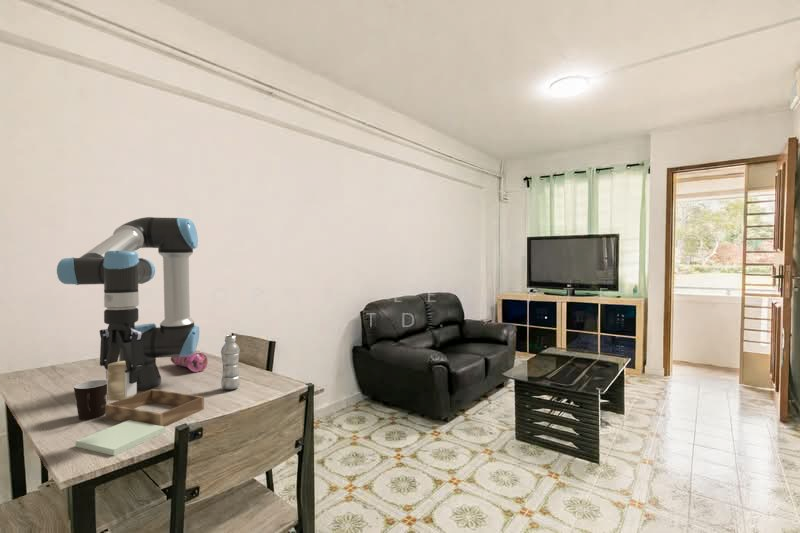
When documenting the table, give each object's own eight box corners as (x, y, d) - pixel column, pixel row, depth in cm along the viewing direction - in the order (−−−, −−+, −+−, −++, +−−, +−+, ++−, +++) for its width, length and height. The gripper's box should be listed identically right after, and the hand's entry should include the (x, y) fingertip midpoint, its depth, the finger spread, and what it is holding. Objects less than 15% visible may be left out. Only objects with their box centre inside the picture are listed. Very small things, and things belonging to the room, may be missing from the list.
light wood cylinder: (102, 399, 102) (102, 365, 102) (124, 391, 108) (124, 359, 108) (118, 401, 100) (118, 367, 100) (140, 394, 106) (140, 361, 106)
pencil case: (168, 366, 176) (168, 347, 176) (189, 362, 184) (189, 343, 183) (188, 375, 163) (188, 354, 163) (210, 370, 170) (210, 350, 170)
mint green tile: (75, 446, 100) (75, 440, 100) (129, 425, 113) (129, 419, 113) (114, 455, 95) (114, 449, 95) (164, 432, 109) (164, 426, 109)
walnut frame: (105, 418, 118) (105, 405, 118) (152, 400, 133) (152, 389, 133) (160, 428, 111) (160, 414, 111) (203, 409, 126) (203, 396, 126)
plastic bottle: (244, 387, 147) (243, 335, 147) (229, 392, 141) (229, 338, 141) (231, 385, 150) (231, 333, 150) (216, 390, 144) (216, 336, 143)
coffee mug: (87, 411, 124) (87, 380, 123) (115, 410, 124) (115, 379, 124) (58, 426, 112) (58, 392, 112) (90, 425, 113) (89, 391, 112)
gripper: (82, 308, 103) (82, 394, 104) (133, 311, 97) (133, 402, 97) (111, 305, 110) (111, 385, 111) (160, 307, 104) (160, 393, 105)
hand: (121, 393), depth 104 cm, fingers closed on light wood cylinder, 6 cm apart
